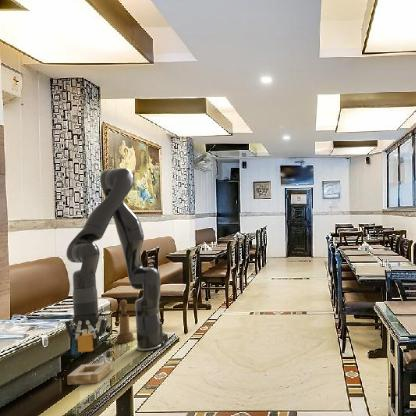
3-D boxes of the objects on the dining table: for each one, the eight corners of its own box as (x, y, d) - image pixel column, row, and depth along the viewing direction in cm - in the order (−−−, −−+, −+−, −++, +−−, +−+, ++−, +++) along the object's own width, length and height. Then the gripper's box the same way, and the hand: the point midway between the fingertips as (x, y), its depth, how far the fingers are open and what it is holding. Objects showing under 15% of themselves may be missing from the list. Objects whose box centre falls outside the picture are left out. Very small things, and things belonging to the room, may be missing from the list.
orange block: (84, 347, 150) (83, 333, 150) (97, 346, 151) (96, 332, 151) (78, 352, 146) (77, 337, 146) (91, 351, 146) (90, 336, 146)
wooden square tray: (110, 370, 154) (110, 362, 154) (98, 382, 144) (97, 374, 144) (82, 372, 153) (81, 364, 153) (67, 384, 143) (67, 376, 143)
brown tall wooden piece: (122, 343, 184) (120, 302, 183) (113, 341, 187) (111, 300, 187) (136, 339, 189) (134, 298, 189) (127, 337, 193) (125, 297, 192)
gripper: (111, 296, 152) (113, 344, 152) (69, 298, 151) (72, 346, 152) (101, 301, 145) (104, 351, 145) (58, 303, 144) (61, 353, 144)
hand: (87, 348), depth 148 cm, fingers closed on orange block, 4 cm apart
